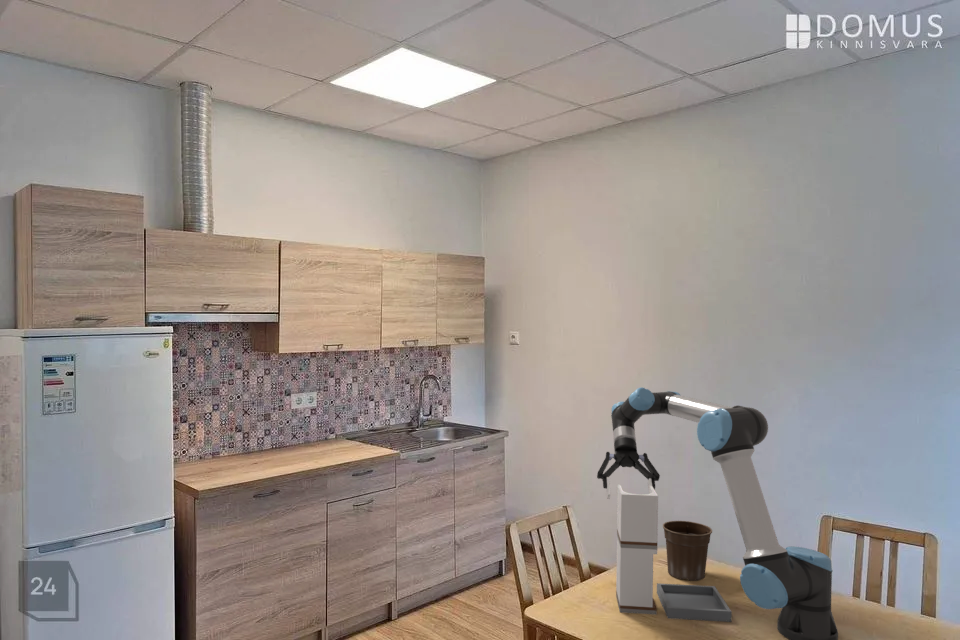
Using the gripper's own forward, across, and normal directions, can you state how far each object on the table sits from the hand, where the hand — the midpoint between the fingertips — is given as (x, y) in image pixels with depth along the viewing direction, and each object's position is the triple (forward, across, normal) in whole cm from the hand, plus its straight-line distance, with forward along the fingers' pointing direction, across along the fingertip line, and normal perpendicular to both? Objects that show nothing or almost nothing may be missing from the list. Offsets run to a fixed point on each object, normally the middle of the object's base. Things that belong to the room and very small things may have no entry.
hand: (630, 497), depth 210 cm
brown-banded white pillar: (+29, 0, -12) cm, 32 cm away
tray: (+29, -17, -13) cm, 36 cm away
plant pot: (+10, -21, -32) cm, 40 cm away
